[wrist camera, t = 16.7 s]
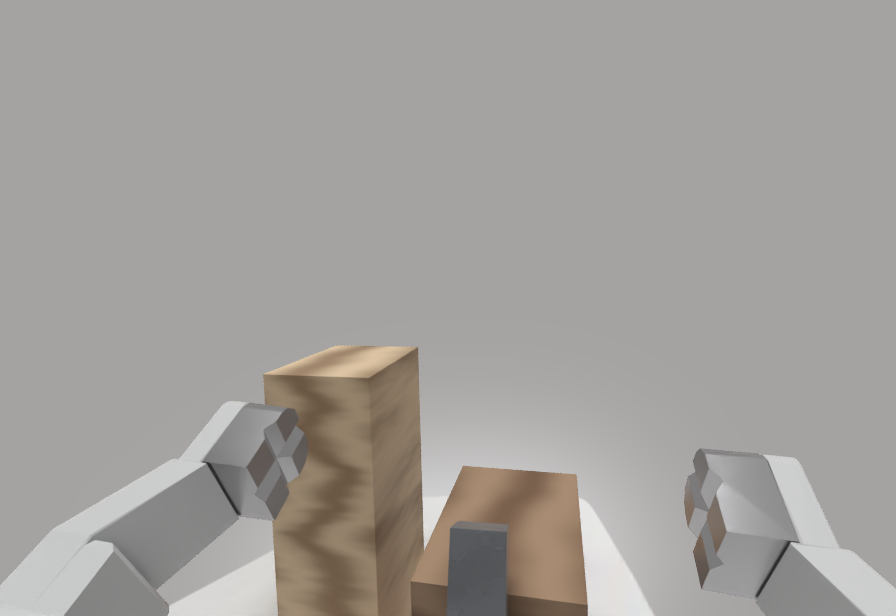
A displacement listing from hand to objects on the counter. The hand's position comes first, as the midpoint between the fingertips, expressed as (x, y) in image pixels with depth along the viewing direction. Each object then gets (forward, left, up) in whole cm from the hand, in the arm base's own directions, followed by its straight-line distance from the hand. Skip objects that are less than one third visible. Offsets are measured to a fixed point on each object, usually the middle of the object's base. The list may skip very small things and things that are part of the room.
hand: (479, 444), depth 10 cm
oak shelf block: (-17, +30, -31) cm, 46 cm away
